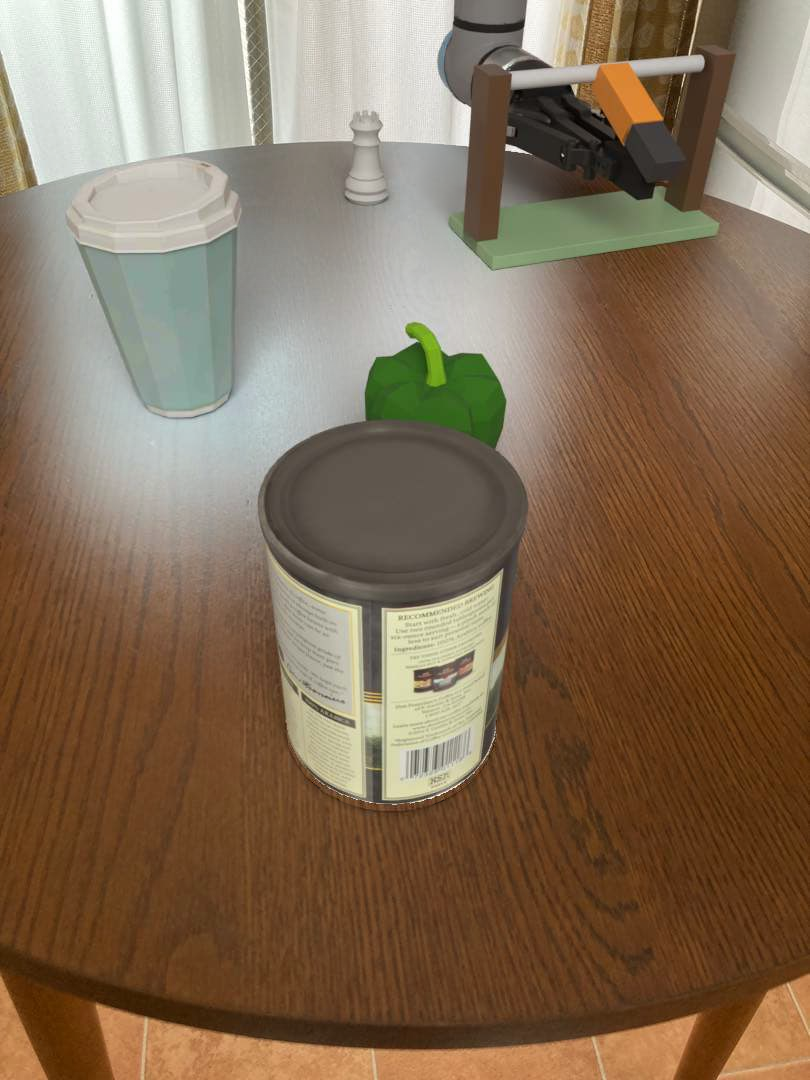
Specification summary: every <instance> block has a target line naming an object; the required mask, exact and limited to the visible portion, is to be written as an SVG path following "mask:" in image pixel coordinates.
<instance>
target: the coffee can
mask: <svg viewBox="0 0 810 1080" xmlns="http://www.w3.org/2000/svg"><path fill="white" fill-rule="evenodd" d="M528 514H529V499H528V493H527V489H526V487H525V485H524V482H523V480H522V478H521V476H520V475H519V473H518V471H517V470H516V468H515V466H513V464H512V463H511V462H510V461H509V460H508V459H507V458H506V457H505V456H504V455H502V453H500V452H499V451H498V450H496V449H493V448H492V447H491V446H489V445H488V444H486V443H484V442H483V441H481V440H479V439H477V438H475V437H473V436H471V435H468V434H466V433H464V432H461V431H458V430H455V429H452V428H449V427H446V426H443V425H438V424H433V423H428V422H422V421H414V420H391V419H383V420H371V421H366V420H364V421H356V422H351V423H346V424H342V425H338V426H334V427H331V428H328V429H326V430H323V431H321V432H317V433H315V434H313V435H311V436H309V437H308V438H305V439H304V440H301V441H300V442H298V443H297V444H295V445H292V446H291V448H289V449H288V450H287V451H285V452H284V453H283V454H282V455H281V456H280V457H279V458H278V459H276V461H275V462H274V463H273V464H272V466H271V467H269V470H268V471H267V472H266V474H265V476H264V478H263V479H262V482H261V484H260V487H259V491H258V496H257V515H258V521H259V525H260V529H261V533H262V535H263V538H264V543H265V552H266V558H267V559H266V561H267V568H268V569H267V570H268V578H269V587H270V594H271V603H272V611H273V619H274V629H275V635H276V646H277V652H278V661H279V669H280V679H281V688H282V696H283V703H284V704H283V705H284V713H285V722H286V723H287V730H288V735H289V739H290V742H291V745H292V747H293V749H294V751H295V753H296V755H297V757H298V758H299V760H300V761H301V763H302V764H303V765H304V766H305V768H307V770H308V771H309V772H310V773H311V774H312V775H313V776H314V777H315V779H317V780H318V781H319V782H321V783H322V784H323V785H326V786H327V787H328V788H329V789H332V790H334V791H336V792H338V793H339V794H341V795H345V796H347V797H351V798H353V799H356V800H358V799H359V800H362V801H365V802H369V803H376V804H392V805H397V804H404V803H410V804H411V803H415V802H421V801H424V800H426V799H432V798H434V797H435V796H440V795H441V794H443V793H446V792H448V791H449V790H452V789H453V788H456V787H457V786H458V785H460V784H461V783H462V782H464V781H465V780H466V779H468V778H469V777H470V776H471V775H472V774H474V773H475V771H476V770H477V769H478V768H479V766H480V765H481V764H482V763H483V761H484V760H485V758H486V756H487V755H488V754H489V751H490V748H491V746H492V743H493V741H494V739H495V737H494V736H495V733H496V731H495V730H496V720H497V721H498V712H499V705H500V698H501V691H502V690H501V689H502V682H503V675H504V674H503V673H504V665H505V658H506V651H507V643H508V636H509V627H510V620H511V613H512V605H513V598H514V590H515V582H516V575H517V567H518V560H519V552H520V544H521V542H522V539H523V536H524V534H525V530H526V526H527V523H528V517H529V515H528Z"/></svg>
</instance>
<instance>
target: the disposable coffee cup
mask: <svg viewBox="0 0 810 1080" xmlns="http://www.w3.org/2000/svg"><path fill="white" fill-rule="evenodd" d="M242 212H243V208H242V207H241V202H240V197H239V194H237V193H236V192H235V191H234V190H232V189H231V187H230V179H229V175H228V174H227V173H226V172H225V171H223V170H221V168H219V167H218V166H216V165H215V164H212V163H210V162H207V161H204V160H198V159H194V158H190V157H189V158H188V157H183V156H178V157H166V158H156V159H155V158H154V159H145V160H140V161H138V162H133V163H131V164H127V165H123V166H119V167H116V168H113V169H109V170H107V171H104V172H103V173H102V174H100V175H98V176H96V177H93V179H91V180H89V181H87V182H85V183H83V184H82V185H81V186H80V187H79V189H78V191H77V192H76V194H75V196H74V198H73V199H72V201H71V203H70V205H69V207H68V208H67V210H66V211H65V213H64V214H65V219H66V227H65V228H66V229H67V231H68V232H69V233H70V234H71V236H72V237H73V239H74V242H75V244H76V246H77V249H78V251H79V254H80V256H81V258H82V261H83V263H84V266H85V268H86V270H87V274H88V276H89V279H90V281H91V284H92V286H93V289H94V291H95V294H96V296H97V299H98V301H99V303H100V306H101V310H102V312H103V314H104V317H105V318H106V322H107V324H108V326H109V329H110V332H111V334H112V336H113V339H114V341H115V344H116V346H117V349H118V351H119V354H120V356H121V359H122V362H123V364H124V367H125V369H126V372H127V375H128V378H129V379H130V381H131V385H132V387H133V389H134V392H135V393H136V395H137V396H138V398H140V400H141V402H142V403H143V404H144V406H146V408H147V409H148V411H149V412H151V413H153V414H157V415H159V416H162V417H165V418H168V419H169V418H171V419H172V418H194V417H197V416H201V415H204V414H207V413H211V412H214V411H216V410H217V409H218V408H219V407H221V406H222V405H223V404H224V403H226V402H227V401H228V400H229V397H230V392H231V391H232V387H233V383H234V379H235V350H236V349H235V346H236V344H235V343H236V341H235V340H236V304H237V303H236V301H237V266H238V265H237V261H238V260H237V259H238V225H239V221H240V218H241V215H242Z"/></svg>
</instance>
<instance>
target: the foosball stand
mask: <svg viewBox="0 0 810 1080" xmlns="http://www.w3.org/2000/svg"><path fill="white" fill-rule="evenodd" d="M693 55H702V56H703V57H704V61H705V63H704V68H703V70H702V71H701V72H698V73H689V79H688V83H687V89H686V93H685V98H684V103H683V108H682V113H681V118H680V122H679V127H678V131H677V135H676V141H675V142H676V143H677V145H678V147H679V148H680V150H681V151H682V153H683V155H684V156H685V158H686V162H685V164H684V166H683V168H682V170H681V171H680V173H679V175H678V177H677V179H675V180H667V185H666V187H665V186H663V185H658V186H655V189H654V193H653V198H652V199H645V200H636V199H634V198H633V197H632V196H630V195H629V194H628V193H626V192H625V191H623V190H620V191H613V192H612V191H611V192H604V193H597V194H590V195H583V196H576V197H569V198H560V199H553V200H546V201H544V200H543V201H537V202H531V203H523V204H515V205H507V206H501V204H502V203H501V202H502V191H503V181H504V180H503V179H504V170H505V169H504V168H505V159H506V147H507V144H506V136H507V125H508V114H509V103H510V91H511V80H512V74H511V73H510V72H508V71H506V70H505V69H503V68H502V67H500V66H499V65H497V64H484V65H474V71H473V87H472V103H471V107H470V121H469V134H468V135H469V137H468V151H467V152H468V153H467V168H466V181H465V182H466V183H465V199H464V211H463V212H456V213H449V216H448V227H449V226H450V227H451V228H452V229H453V230H454V231H455V232H456V233H455V232H454V231H453V230H452V229H451V228H450V227H449V228H450V229H451V230H452V231H453V232H454V233H455V234H456V236H458V237H459V238H460V239H461V241H463V242H464V243H465V244H466V245H467V246H468V247H469V249H471V251H473V253H475V254H476V255H477V256H478V257H479V258H480V259H481V260H482V262H484V263H485V265H487V267H488V268H490V270H492V271H494V270H502V269H507V268H508V269H509V268H514V267H521V266H526V265H527V266H528V265H534V264H540V263H547V262H554V261H560V260H565V259H566V260H567V259H573V258H574V259H575V258H579V257H586V256H593V255H599V254H606V253H611V252H613V253H614V252H618V251H624V250H631V249H638V248H644V247H651V246H658V245H664V244H669V243H670V244H671V243H676V242H682V241H683V242H684V241H690V240H697V239H703V238H709V237H715V236H718V234H719V233H718V232H719V229H720V222H718V221H717V220H715V219H713V218H712V217H711V216H709V215H708V214H706V213H704V212H703V211H702V210H700V209H701V205H702V200H703V197H704V192H705V188H706V184H707V179H708V174H709V171H710V166H711V162H712V158H713V153H714V149H715V145H716V142H717V141H716V140H717V137H718V132H719V130H720V129H719V128H720V125H721V124H720V123H721V119H722V116H723V112H724V108H725V102H726V98H727V94H728V90H729V86H730V82H731V77H732V74H733V69H734V64H735V60H736V56H737V53H735V52H733V51H731V50H729V49H725V48H724V47H721V46H719V45H717V44H707V45H706V44H705V45H696V46H695V50H694V54H693Z"/></svg>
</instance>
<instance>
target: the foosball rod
mask: <svg viewBox="0 0 810 1080" xmlns="http://www.w3.org/2000/svg"><path fill="white" fill-rule="evenodd" d="M704 63H705V61H704V57H703V56H702V55H694V54H691V55H679V56H670V57H669V56H668V57H657V58H645V59H637V60H636V59H635V60H626V61H625V60H624V61H623V60H622V61H612V62H603V63H590V64H578V65H567V66H557V67H554V68H544V69H533V70H522V71H510V73H511V74H512V80H511V90H520V89H530V88H541V87H551V86H562V85H571V86H572V85H581V84H591V86H590V87H591V88H590V91H591V94H592V95H593V97H594V98H595V100H596V102H597V103H598V105H599V107H600V109H602V110H603V112H604V114H605V115H606V117H607V119H608V120H609V122H610V124H611V126H612V127H613V129H614V131H615V132H616V134H617V136H618V137H619V139H620V141H621V143H622V144H623V146H626V148H627V150H628V151H629V153H630V155H631V156H632V158H633V160H634V161H635V163H636V165H637V166H638V168H639V170H640V172H641V173H642V175H643V177H644V178H645V180H646V182H647V183H652V182H656V183H657V182H658V183H659V182H668V180H675V179H677V177H678V175H679V173H680V171H681V170H682V168H683V166H684V164H685V162H686V158H685V156H684V155H683V153H682V151H681V150H680V148H679V147H678V145H677V143H676V141H675V138H674V137H673V136H672V133H671V132H670V131H669V129H668V127H667V126H666V123H664V117H663V115H662V114H661V112H660V111H659V110H658V108H657V106H656V105H655V103H654V102H653V100H652V99H651V96H650V95H649V94H648V92H647V90H646V88H645V87H644V85H643V84H642V82H641V81H640V79H644V78H645V79H646V78H654V77H663V76H664V77H665V76H675V75H676V76H677V75H686V74H687V75H688V74H691V73H698V72H701V71H702V70H703V68H704Z"/></svg>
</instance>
